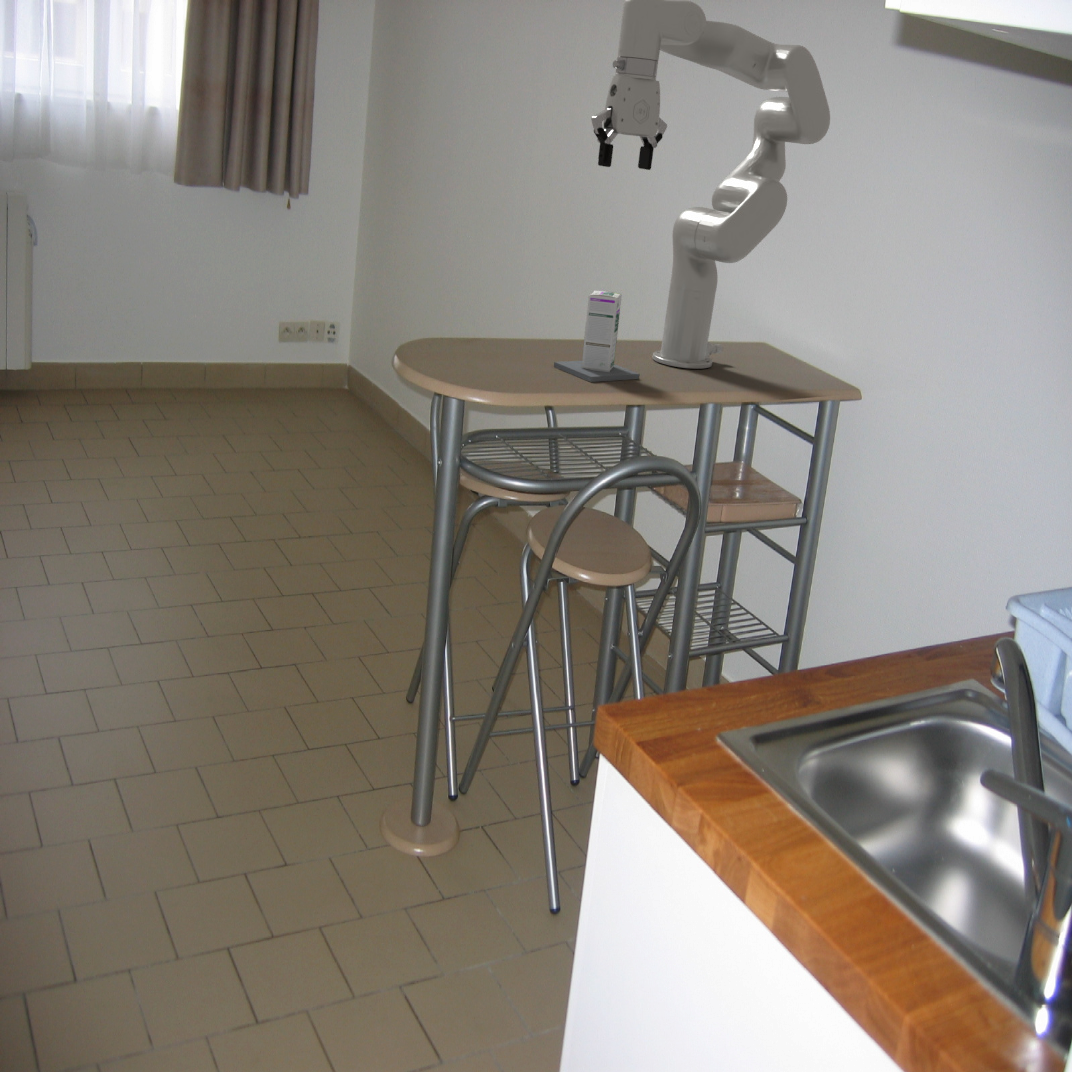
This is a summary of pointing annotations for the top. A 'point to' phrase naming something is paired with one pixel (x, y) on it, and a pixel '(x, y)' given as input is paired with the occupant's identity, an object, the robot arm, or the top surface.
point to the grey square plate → (596, 372)
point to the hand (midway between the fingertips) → (624, 167)
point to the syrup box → (601, 330)
